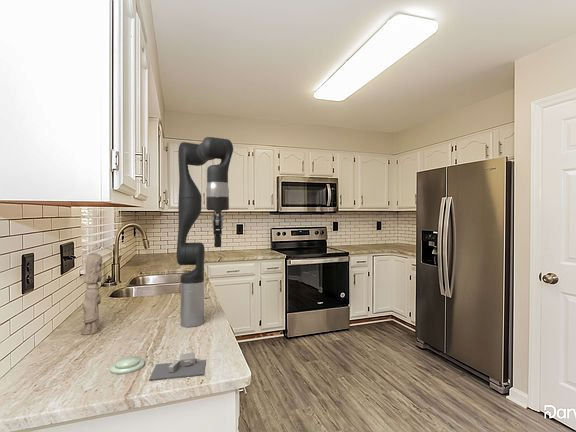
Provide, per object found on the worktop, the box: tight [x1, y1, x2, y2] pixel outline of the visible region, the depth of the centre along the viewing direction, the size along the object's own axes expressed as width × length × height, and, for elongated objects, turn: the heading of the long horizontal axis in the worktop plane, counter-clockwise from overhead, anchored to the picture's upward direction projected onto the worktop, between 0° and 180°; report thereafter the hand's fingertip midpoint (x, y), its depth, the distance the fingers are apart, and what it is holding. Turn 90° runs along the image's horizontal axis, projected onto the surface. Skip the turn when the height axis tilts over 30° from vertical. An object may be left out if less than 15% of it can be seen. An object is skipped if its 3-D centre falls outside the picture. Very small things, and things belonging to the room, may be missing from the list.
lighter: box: [169, 352, 196, 373], centre depth 92 cm, size 7×2×8 cm
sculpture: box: [80, 252, 103, 336], centre depth 122 cm, size 7×7×30 cm
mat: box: [148, 359, 206, 382], centre depth 90 cm, size 9×14×1 cm, turn 102°
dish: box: [109, 355, 145, 375], centre depth 92 cm, size 9×9×2 cm
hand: (217, 246), depth 108 cm, fingers closed
